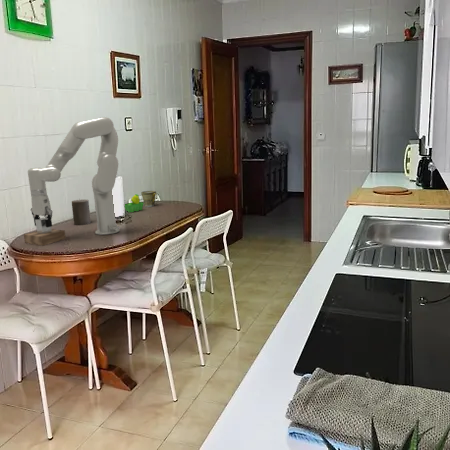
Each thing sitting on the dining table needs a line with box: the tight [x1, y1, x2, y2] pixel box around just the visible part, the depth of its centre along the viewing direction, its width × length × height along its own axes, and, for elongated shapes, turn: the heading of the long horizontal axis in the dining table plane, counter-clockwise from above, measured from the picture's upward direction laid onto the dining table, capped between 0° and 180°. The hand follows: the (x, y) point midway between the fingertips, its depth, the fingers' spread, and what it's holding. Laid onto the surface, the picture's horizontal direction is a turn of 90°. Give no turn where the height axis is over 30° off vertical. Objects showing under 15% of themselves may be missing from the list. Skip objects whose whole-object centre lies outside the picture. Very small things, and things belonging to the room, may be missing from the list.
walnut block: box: [23, 228, 67, 247], centre depth 253 cm, size 14×14×5 cm
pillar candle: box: [71, 199, 92, 226], centre depth 291 cm, size 10×10×15 cm
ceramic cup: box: [140, 190, 158, 208], centre depth 335 cm, size 13×10×10 cm
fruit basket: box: [124, 193, 144, 213], centre depth 321 cm, size 11×9×11 cm
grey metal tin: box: [35, 217, 52, 234], centre depth 251 cm, size 5×5×7 cm
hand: (43, 226), depth 251 cm, fingers open, 9 cm apart
